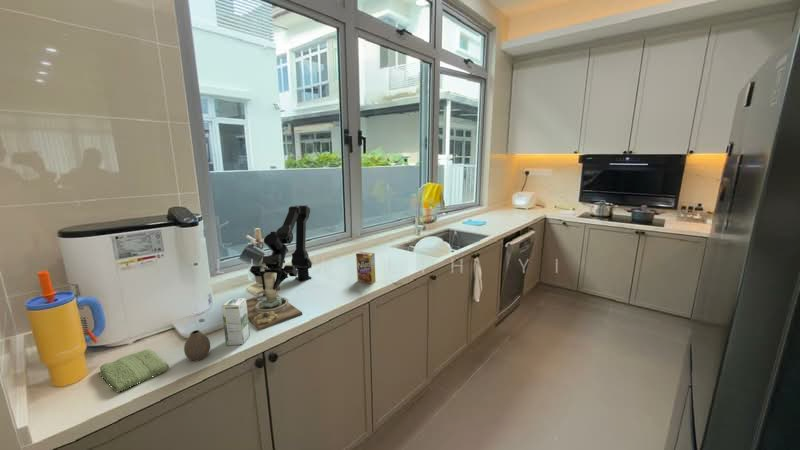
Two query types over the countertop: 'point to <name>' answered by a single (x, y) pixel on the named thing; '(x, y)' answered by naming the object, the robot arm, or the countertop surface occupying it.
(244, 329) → the syrup box
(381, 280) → the countertop surface
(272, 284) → the gear
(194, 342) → the vase
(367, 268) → the candy box
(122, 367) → the washcloth
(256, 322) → the gear board
